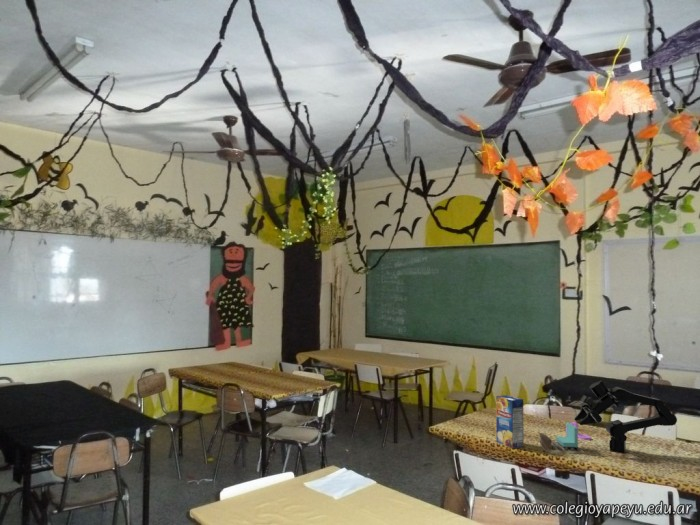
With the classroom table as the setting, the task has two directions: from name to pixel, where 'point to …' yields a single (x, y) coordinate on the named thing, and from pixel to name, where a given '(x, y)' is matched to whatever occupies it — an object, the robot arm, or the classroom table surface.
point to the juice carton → (509, 421)
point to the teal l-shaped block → (569, 437)
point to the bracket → (579, 433)
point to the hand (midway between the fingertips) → (577, 422)
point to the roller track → (556, 446)
